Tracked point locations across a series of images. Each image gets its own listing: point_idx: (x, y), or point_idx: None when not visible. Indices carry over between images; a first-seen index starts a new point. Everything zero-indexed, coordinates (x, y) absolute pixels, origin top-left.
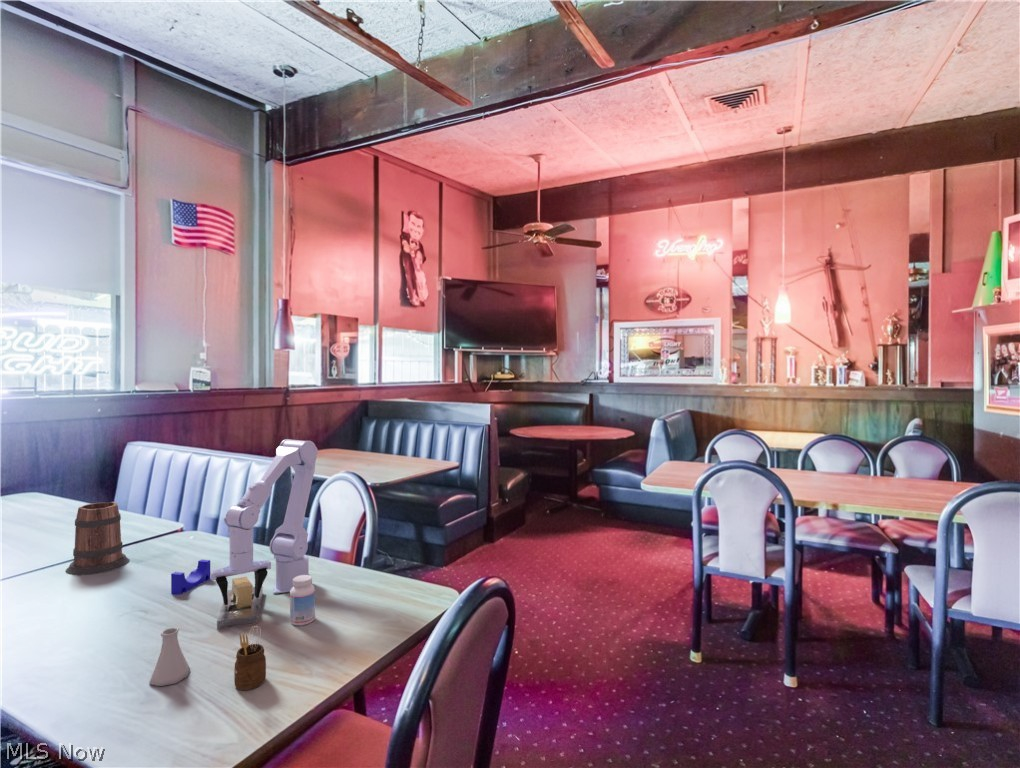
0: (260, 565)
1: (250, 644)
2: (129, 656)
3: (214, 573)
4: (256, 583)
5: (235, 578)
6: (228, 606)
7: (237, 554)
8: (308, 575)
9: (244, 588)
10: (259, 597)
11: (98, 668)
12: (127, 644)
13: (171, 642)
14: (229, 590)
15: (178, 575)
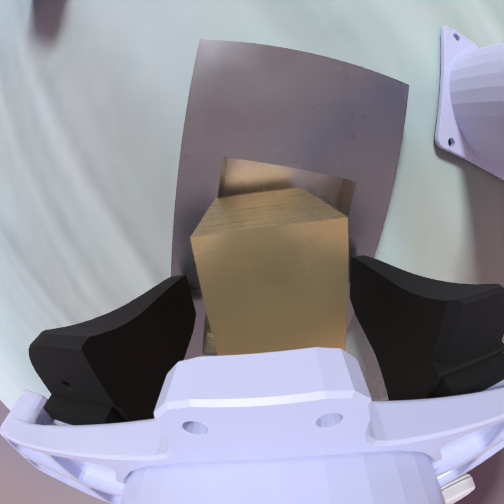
0: (449, 477)
1: None
2: (37, 379)
3: (51, 472)
4: (385, 332)
5: (223, 242)
6: (202, 302)
7: None
8: (472, 490)
9: None
10: (369, 256)
11: (19, 384)
12: (5, 327)
13: None
14: (209, 45)
15: None
